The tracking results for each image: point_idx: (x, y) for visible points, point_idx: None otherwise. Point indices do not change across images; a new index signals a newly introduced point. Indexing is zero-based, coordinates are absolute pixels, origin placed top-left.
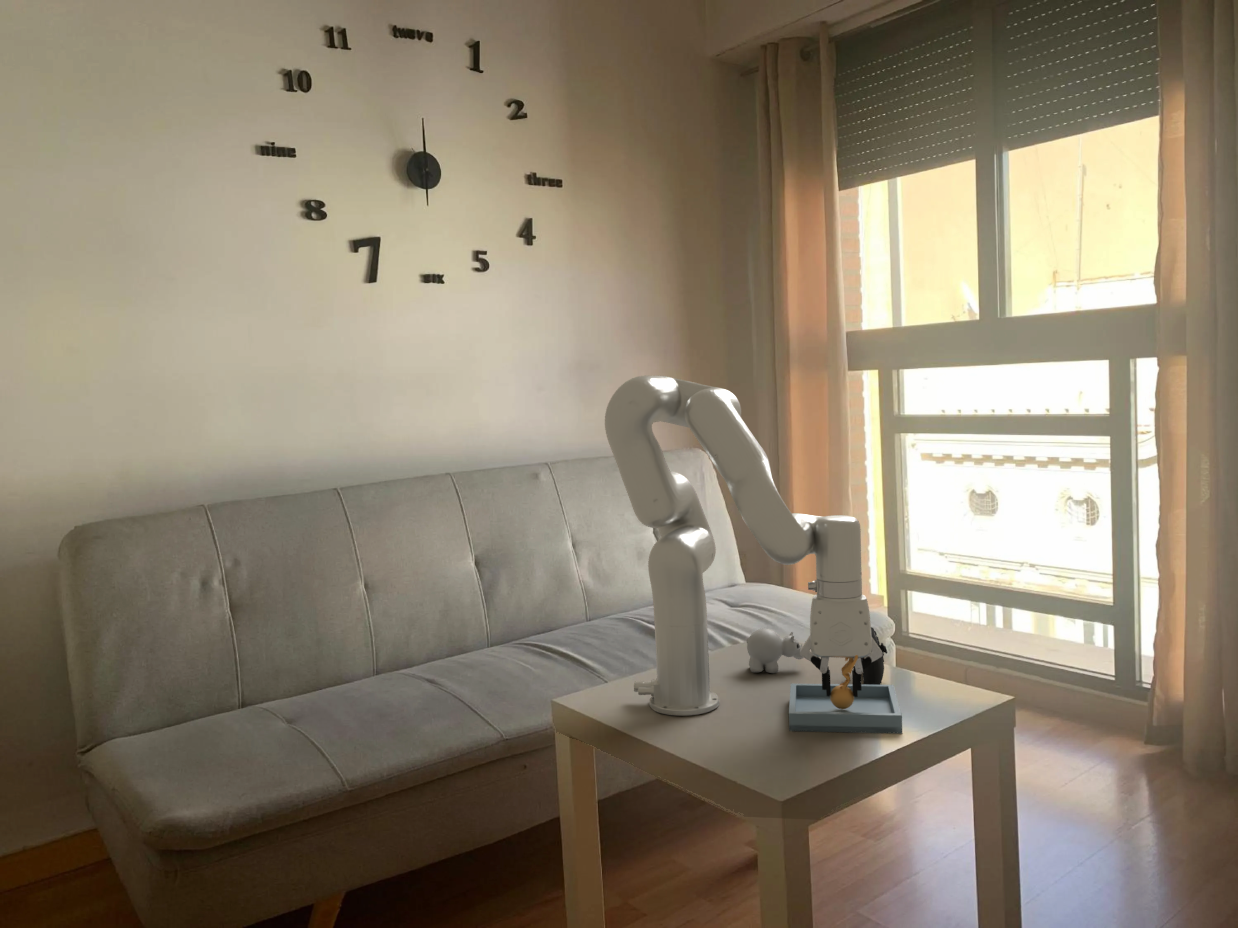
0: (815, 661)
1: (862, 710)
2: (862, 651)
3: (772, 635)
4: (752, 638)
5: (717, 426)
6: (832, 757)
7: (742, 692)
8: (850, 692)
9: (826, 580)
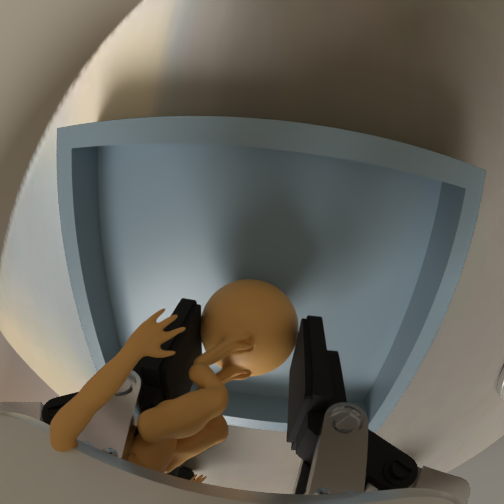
0: (393, 464)
1: (187, 289)
2: (7, 446)
3: None
4: None
5: None
6: None
7: (440, 417)
8: (209, 320)
9: None
